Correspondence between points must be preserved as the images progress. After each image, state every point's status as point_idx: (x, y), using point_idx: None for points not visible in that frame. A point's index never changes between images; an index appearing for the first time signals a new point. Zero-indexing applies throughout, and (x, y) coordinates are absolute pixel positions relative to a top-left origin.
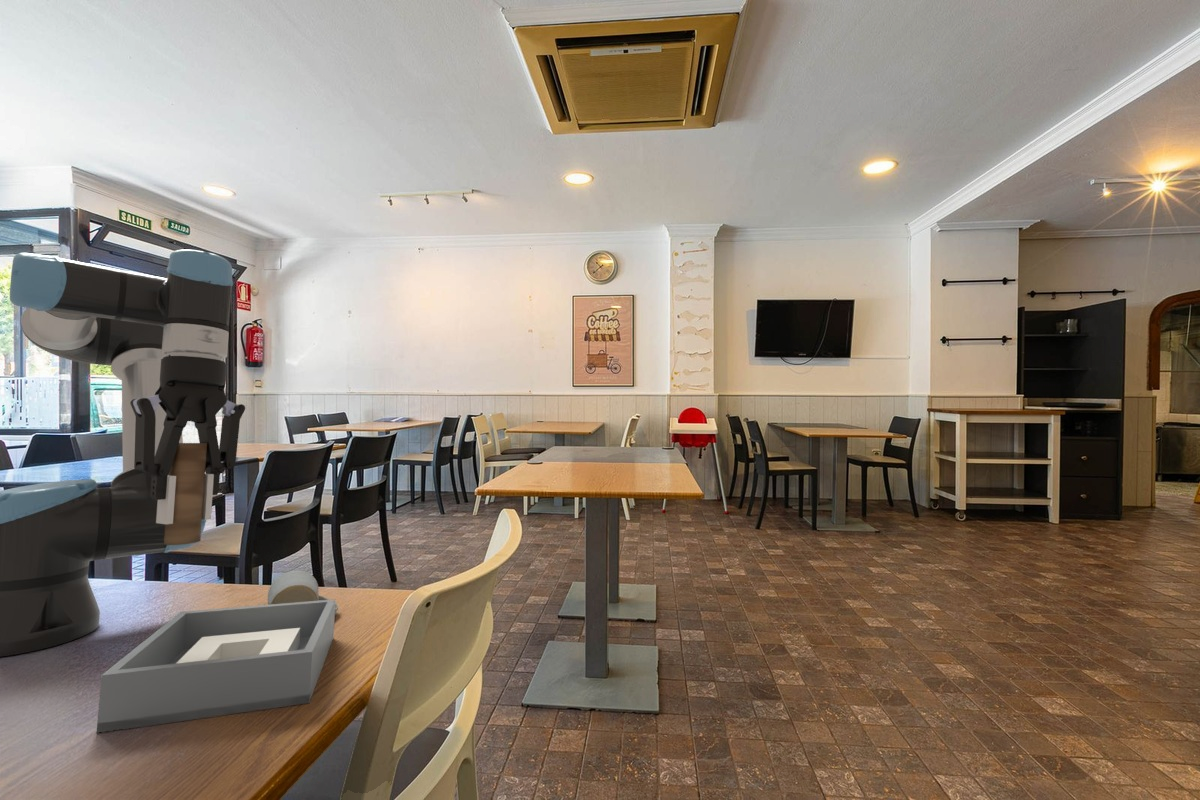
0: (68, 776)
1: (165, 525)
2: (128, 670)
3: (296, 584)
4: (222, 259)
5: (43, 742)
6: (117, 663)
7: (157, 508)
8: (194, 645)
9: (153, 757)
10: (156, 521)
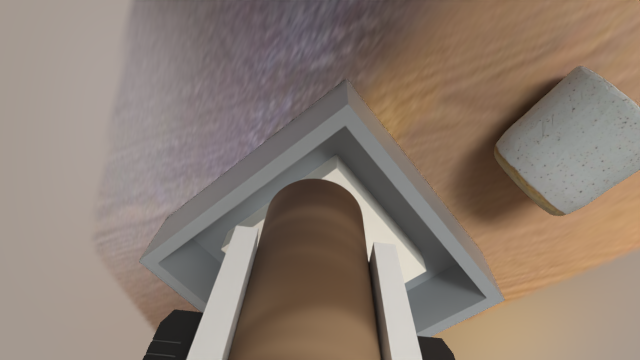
0: (126, 267)
1: (259, 240)
2: (163, 275)
3: (554, 202)
4: None
5: (128, 187)
6: (165, 243)
7: (222, 264)
8: None
9: (179, 301)
10: (234, 232)
